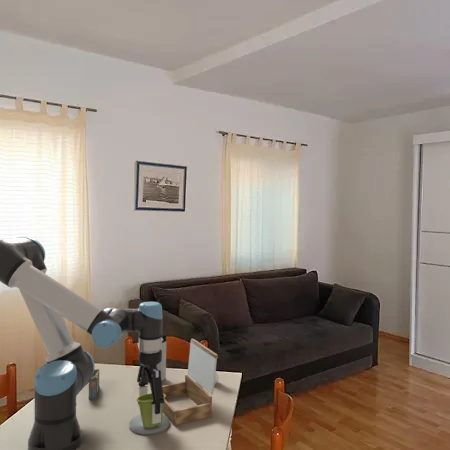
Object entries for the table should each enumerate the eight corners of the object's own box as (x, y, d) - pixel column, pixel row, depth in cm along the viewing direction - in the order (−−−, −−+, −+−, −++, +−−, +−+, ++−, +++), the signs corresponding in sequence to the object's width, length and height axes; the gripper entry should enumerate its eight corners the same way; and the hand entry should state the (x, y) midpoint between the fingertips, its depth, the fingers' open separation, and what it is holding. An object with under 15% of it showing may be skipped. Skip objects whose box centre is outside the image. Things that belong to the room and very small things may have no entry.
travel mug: (146, 381, 181) (147, 333, 180) (157, 376, 186) (158, 329, 185) (157, 385, 177) (158, 336, 176) (168, 379, 183) (169, 332, 182)
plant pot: (161, 429, 136) (160, 400, 137) (132, 429, 138) (131, 401, 139) (170, 420, 145) (169, 392, 146) (144, 420, 147) (142, 393, 148)
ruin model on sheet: (97, 400, 163) (97, 374, 163) (88, 400, 163) (88, 375, 162) (100, 388, 174) (100, 363, 174) (92, 388, 174) (92, 364, 173)
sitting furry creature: (203, 377, 186) (204, 349, 186) (222, 380, 183) (223, 352, 183) (194, 385, 178) (194, 356, 177) (213, 388, 174) (214, 359, 174)
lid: (215, 354, 151) (217, 354, 152) (190, 338, 170) (193, 338, 170) (211, 394, 151) (214, 394, 152) (187, 374, 170) (189, 374, 170)
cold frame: (173, 425, 145) (173, 404, 144) (152, 399, 164) (152, 381, 163) (211, 416, 151) (211, 396, 151) (186, 392, 170) (187, 374, 170)
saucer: (136, 438, 136) (136, 435, 136) (124, 420, 147) (124, 417, 147) (175, 429, 142) (175, 426, 142) (161, 412, 153) (161, 409, 153)
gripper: (175, 360, 134) (174, 428, 135) (149, 338, 156) (148, 396, 157) (151, 363, 131) (150, 433, 132) (128, 340, 153) (127, 400, 154)
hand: (149, 413), depth 144 cm, fingers open, 13 cm apart
